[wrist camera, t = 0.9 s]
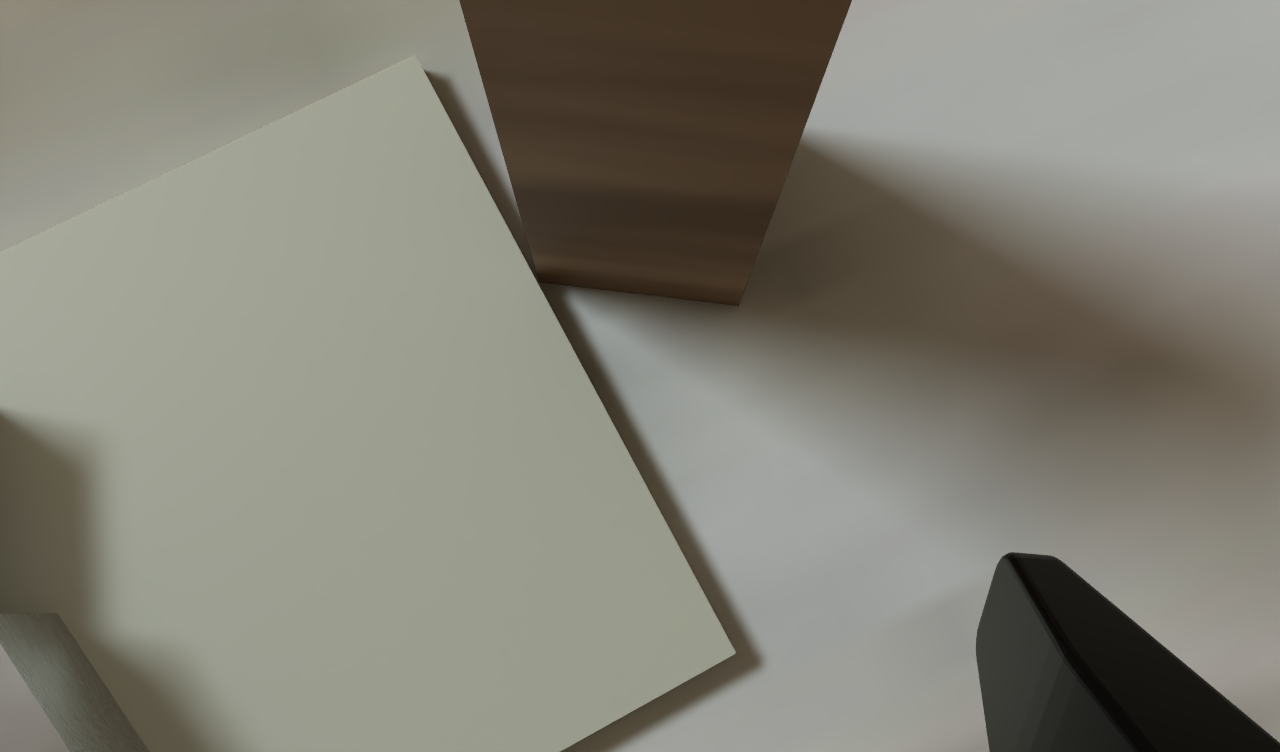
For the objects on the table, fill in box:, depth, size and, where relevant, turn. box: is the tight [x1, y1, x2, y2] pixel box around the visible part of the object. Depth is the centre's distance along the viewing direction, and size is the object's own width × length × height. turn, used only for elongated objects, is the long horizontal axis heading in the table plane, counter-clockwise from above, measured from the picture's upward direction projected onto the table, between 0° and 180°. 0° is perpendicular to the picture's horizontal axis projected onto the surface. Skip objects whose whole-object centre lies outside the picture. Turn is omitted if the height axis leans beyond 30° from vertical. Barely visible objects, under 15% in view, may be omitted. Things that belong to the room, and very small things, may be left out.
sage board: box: [0, 55, 736, 752], centre depth 21 cm, size 14×16×1 cm
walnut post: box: [460, 0, 852, 306], centre depth 17 cm, size 4×4×12 cm
